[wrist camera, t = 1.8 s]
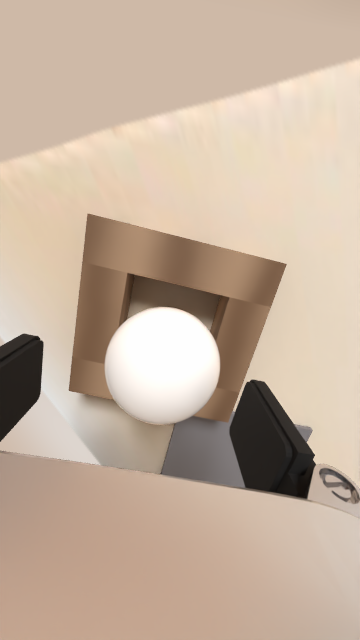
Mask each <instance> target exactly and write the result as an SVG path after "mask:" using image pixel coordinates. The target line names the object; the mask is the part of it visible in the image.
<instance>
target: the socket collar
mask: <svg viewBox="0 0 360 640" xmlns="http://www.w3.org/2000/svg"><path fill="white" fill-rule="evenodd" d="M286 265H287V264H284V263H280V262H277V261H273V260H269V259H265V258H261V257H257V256H253V255H249V254H245V253H241V252H237V251H233V250H229V249H225V248H221V247H217V246H214V245H210V244H206V243H202V242H198V241H194V240H190V239H186V238H182V237H178V236H174V235H170V234H166V233H162V232H158V231H155V230H151V229H147V228H143V227H139V226H135V225H131V224H127V223H123V222H119V221H115V220H111V219H107V218H103V217H99V216H95V215H92V214H88V215H87V224H86V234H85V243H84V252H83V262H82V271H81V281H80V290H79V299H78V309H77V318H76V328H75V337H74V346H73V356H72V365H71V375H70V384H69V391H72V392H77V393H82V394H87V395H92V396H97V397H102V398H107V399H112V400H114V399H113V397H112V395H111V393H110V391H109V389H108V386H107V383H106V379H105V372H104V362H105V355H106V351H107V347H108V345H109V342H110V340H111V338H112V336H113V335H114V333H115V332H116V330H117V329H118V328H119V327H120V326H121V325H122V324H123V323H124V322H125V321H126V320H127V315H128V310H129V304H130V298H131V293H132V287H133V281H134V276H135V275H139V276H143V277H147V278H151V279H155V280H160V281H164V282H168V283H172V284H176V285H181V286H185V287H189V288H193V289H197V290H201V291H206V292H210V293H214V294H218V295H221V297H220V300H219V303H218V307H217V310H216V313H215V317H214V320H213V324H212V327H211V330H210V332H211V334H212V336H213V337H214V339H215V341H216V344H217V347H218V350H219V355H220V375H219V380H218V383H217V386H216V389H215V391H214V393H213V395H212V396H211V398H210V400H209V401H208V402H207V404H206V405H205V406H204V407H203V408H202V409H201V410H200V411H199V412H197V413H196V414H195V415H193V416H197V417H202V418H207V419H212V420H217V421H222V422H227V423H228V422H229V419H230V416H231V414H232V411H233V408H234V405H235V403H236V400H237V397H238V395H239V392H240V389H241V387H242V384H243V381H244V378H245V376H246V373H247V370H248V368H249V365H250V362H251V359H252V357H253V354H254V351H255V349H256V346H257V343H258V340H259V338H260V335H261V332H262V330H263V327H264V324H265V321H266V319H267V316H268V313H269V311H270V308H271V305H272V302H273V300H274V297H275V294H276V292H277V289H278V286H279V284H280V281H281V278H282V275H283V273H284V270H285V267H286Z"/></svg>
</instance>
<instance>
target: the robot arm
mask: <svg viewBox="0 0 360 640" xmlns="http://www.w3.org/2000/svg"><path fill="white" fill-rule="evenodd" d="M42 360H43V341H41V340H40V338H39V337H38V336H33V335H28V334H22V335H20V336H18V337H16V338H15V339H13V340H11V341H9V342H7V343H6V344H4V345H2V346H0V442H1V440H2V439H3V438H4V437H5V436H6V435H7V434H8V433H9V432H10V430H11V429H12V428H13V427H14V426H15V425H16V424H17V423H18V422H19V420H20V419H21V418H22V417H23V416H24V415H25V414H26V413H27V412H28V411H29V409H30V408H31V407H32V406H33V405H34V404H35V403H36V402H37V400H38V398H39V396H40V391H41V375H42ZM229 434H230V438H231V441H232V445H233V448H234V451H235V455H236V458H237V461H238V465H239V468H240V471H241V475H242V478H243V481H244V485H245V488H243V487H237V486H231V485H224V484H218V483H212V482H205V481H199V480H193V479H187V478H180V477H174V476H167V475H161V474H154V473H148V472H141V471H135V470H128V469H122V468H115V467H108V466H102V465H95V464H88V463H81V462H74V461H68V460H61V459H54V458H48V457H40V456H34V455H26V454H20V453H13V452H6V451H0V640H360V489H359V487H358V486H357V485H356V484H355V483H354V482H353V481H352V480H351V479H350V478H349V477H348V476H347V475H345V474H344V473H342V472H341V471H340V470H338V469H336V468H334V467H332V466H329V465H327V464H318V465H316V464H315V462H314V461H313V458H314V456H315V454H314V453H313V452H312V450H311V449H310V447H309V446H308V444H307V443H306V441H305V440H304V438H303V437H302V436H301V434H300V433H299V431H298V430H297V428H296V427H295V425H294V424H293V422H292V421H291V419H290V418H289V417H288V415H287V414H286V412H285V411H284V409H283V408H282V406H281V405H280V403H279V402H278V400H277V399H276V398H275V396H274V395H273V393H272V392H271V390H270V389H269V387H268V386H267V384H266V383H265V382H262V381H257V380H251V381H250V382H247V383H246V385H245V388H244V390H243V393H242V396H241V398H240V401H239V404H238V406H237V409H236V412H235V414H234V417H233V420H232V422H231V425H230V429H229Z"/></svg>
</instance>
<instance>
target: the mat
mask: <svg viewBox="0 0 360 640" xmlns="http://www.w3.org/2000/svg"><path fill="white" fill-rule="evenodd" d="M234 414H235V412H232V414H231V416H230V419H229V422H228V423H227V422H222V421H217V420H212V419H207V418H202V417H197V416H191V417H190V418H188V419H186V420H184V421H181V422H178V423H175V425H174V429H173V432H172V436H171V440H170V443H169V447H168V450H167V454H166V457H165V461H164V464H163V468H162V471H161V475H167V476H174V477H180V478H187V479H193V480H199V481H205V482H212V483H218V484H224V485H231V486H237V487H243V488H245V485H244V481H243V478H242V475H241V471H240V468H239V465H238V461H237V458H236V455H235V451H234V448H233V445H232V441H231V438H230V434H229V429H230V425H231V422H232V420H233V417H234ZM294 425H295V424H294ZM295 427H296V428H297V430H298V431H299V433H300V434H301V436H302V437H303V438H304V440H305V441H306V443H307V441H308V439H309V437H310V435H311V433H312V431H313V430H312V429H311V428H310V427H305V426H300V425H295Z"/></svg>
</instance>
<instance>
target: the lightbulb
mask: <svg viewBox="0 0 360 640" xmlns="http://www.w3.org/2000/svg"><path fill="white" fill-rule="evenodd" d="M104 372H105V379H106V383H107V386H108V389H109V391H110V393H111V395H112V397H113V399H114V400H115V402H116V403H117V404H118V405H119V406H120V408H121V409H123V410H124V411H125V412H126V413H127V414H129V415H130V416H132V417H133V418H135V419H137V420H139V421H142V422H145V423H149V424H154V425H169V424H174V423H178V422H181V421H184V420H186V419H188V418H190V417H191V416H193V415H195V414H196V413H197V412H199V411H200V410H201V409H202V408H203V407H204V406H205V405H206V404H207V402H208V401H209V400H210V398H211V396H212V395H213V393H214V391H215V389H216V386H217V383H218V380H219V375H220V355H219V350H218V347H217V344H216V341H215V339H214V337H213V336H212V334H211V332H210V331H209V329H208V328H207V327H206V326H205V325H204V324H203V323H202V322H201V321H200V320H199V319H198V318H196V317H195V316H193V315H192V314H190V313H188V312H186V311H183V310H180V309H177V308H172V307H155V308H150V309H146V310H143V311H141V312H138V313H136V314H135V315H133V316H131V317H130V318H128V319H127V320H126V321H125V322H124V323H123V324H122V325H121V326H120V327H119V328H118V329H117V330H116V332H115V333H114V335H113V336H112V338H111V340H110V342H109V345H108V347H107V351H106V355H105V362H104Z"/></svg>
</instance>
